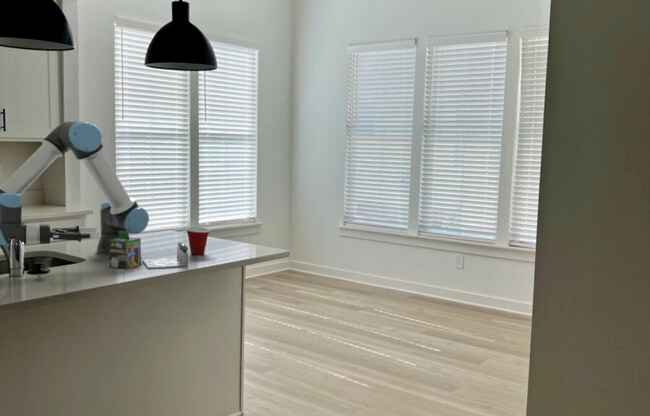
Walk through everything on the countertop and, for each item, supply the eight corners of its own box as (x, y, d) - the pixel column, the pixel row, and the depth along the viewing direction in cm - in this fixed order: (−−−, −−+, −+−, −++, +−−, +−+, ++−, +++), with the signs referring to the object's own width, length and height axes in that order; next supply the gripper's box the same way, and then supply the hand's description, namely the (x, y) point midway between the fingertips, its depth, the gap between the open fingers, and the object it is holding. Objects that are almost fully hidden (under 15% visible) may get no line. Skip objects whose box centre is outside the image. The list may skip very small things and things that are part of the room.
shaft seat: (142, 261, 261) (142, 242, 260) (181, 259, 267) (181, 240, 267) (148, 269, 246) (148, 249, 245) (189, 266, 253) (189, 247, 252)
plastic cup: (204, 257, 274) (204, 230, 273) (182, 255, 276) (182, 229, 275) (213, 253, 285) (213, 227, 283) (191, 251, 287) (192, 226, 285)
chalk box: (141, 265, 253) (141, 230, 251) (126, 269, 244) (126, 233, 243) (123, 263, 256) (123, 228, 254) (108, 267, 248) (108, 231, 246)
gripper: (39, 238, 247) (95, 237, 256) (38, 249, 224) (100, 247, 233) (39, 220, 246) (95, 219, 255) (38, 229, 223) (100, 228, 232)
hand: (97, 233), depth 244 cm, fingers open, 13 cm apart
